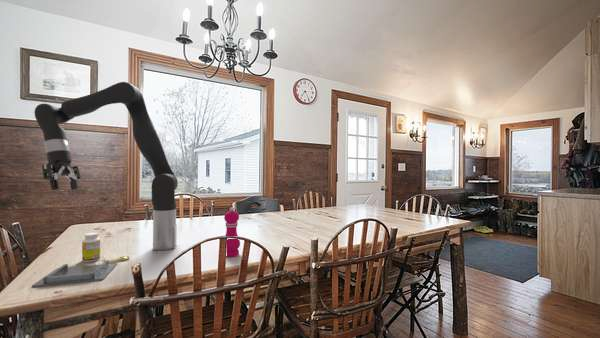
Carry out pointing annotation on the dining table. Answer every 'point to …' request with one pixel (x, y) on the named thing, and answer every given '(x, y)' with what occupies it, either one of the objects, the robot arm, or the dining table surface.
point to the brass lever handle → (119, 259)
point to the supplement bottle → (91, 247)
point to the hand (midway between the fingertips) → (65, 189)
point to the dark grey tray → (76, 274)
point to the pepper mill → (232, 232)
